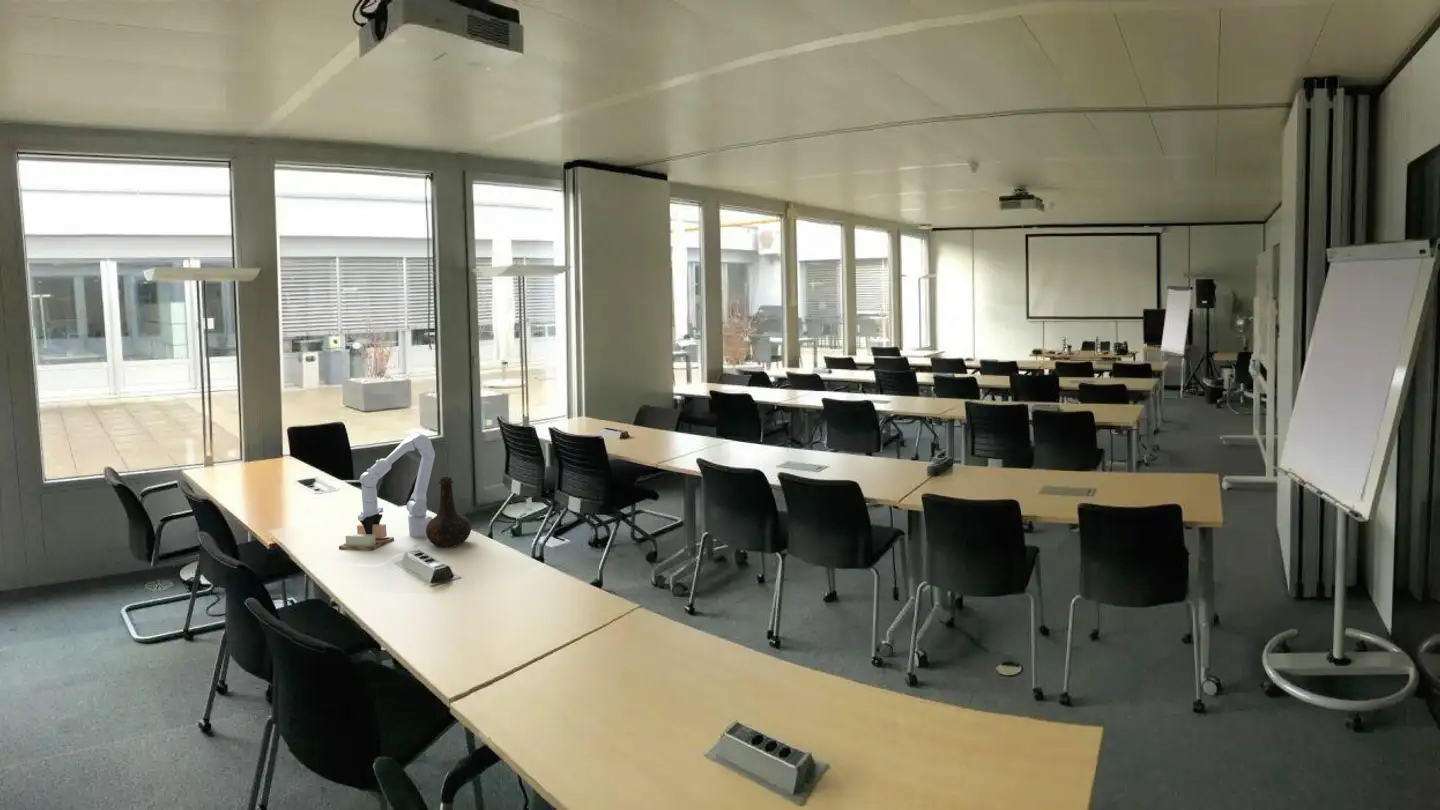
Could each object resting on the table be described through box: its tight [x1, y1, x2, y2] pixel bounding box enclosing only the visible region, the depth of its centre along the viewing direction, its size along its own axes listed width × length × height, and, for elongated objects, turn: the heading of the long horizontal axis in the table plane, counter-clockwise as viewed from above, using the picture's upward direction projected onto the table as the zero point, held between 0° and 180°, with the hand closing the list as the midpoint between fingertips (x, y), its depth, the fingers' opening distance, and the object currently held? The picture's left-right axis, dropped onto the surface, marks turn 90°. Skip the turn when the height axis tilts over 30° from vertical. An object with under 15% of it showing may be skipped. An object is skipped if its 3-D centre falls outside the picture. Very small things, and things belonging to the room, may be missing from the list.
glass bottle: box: [426, 476, 472, 548], centre depth 347 cm, size 18×18×28 cm
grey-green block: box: [345, 533, 376, 547], centre depth 345 cm, size 11×4×5 cm, turn 78°
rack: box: [338, 536, 395, 551], centre depth 349 cm, size 15×15×2 cm
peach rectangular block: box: [356, 523, 388, 538], centre depth 352 cm, size 11×4×5 cm, turn 78°
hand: (372, 533), depth 352 cm, fingers closed on peach rectangular block, 3 cm apart
